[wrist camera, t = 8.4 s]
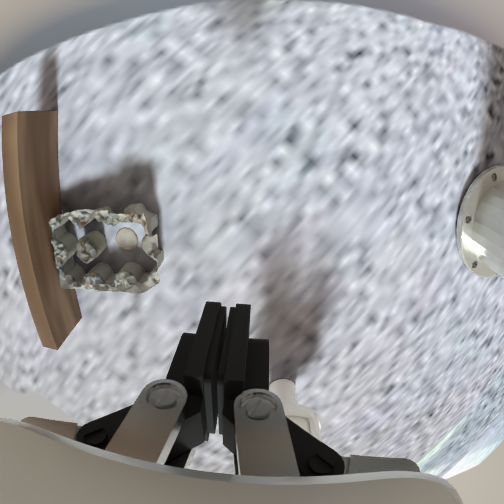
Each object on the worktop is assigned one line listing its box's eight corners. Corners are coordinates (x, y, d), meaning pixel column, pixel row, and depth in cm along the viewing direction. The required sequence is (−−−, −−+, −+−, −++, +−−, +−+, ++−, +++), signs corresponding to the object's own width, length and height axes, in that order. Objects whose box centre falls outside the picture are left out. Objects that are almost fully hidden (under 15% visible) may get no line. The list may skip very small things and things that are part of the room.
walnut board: (57, 110, 22) (17, 111, 16) (81, 317, 30) (57, 349, 25) (42, 113, 22) (2, 116, 16) (67, 315, 30) (42, 346, 24)
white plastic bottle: (291, 357, 32) (308, 480, 18) (322, 389, 34) (344, 497, 20) (239, 383, 33) (234, 500, 19) (273, 412, 35) (279, 516, 22)
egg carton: (161, 199, 26) (146, 211, 22) (168, 277, 28) (157, 299, 25) (61, 204, 25) (38, 216, 22) (74, 274, 28) (55, 293, 24)
